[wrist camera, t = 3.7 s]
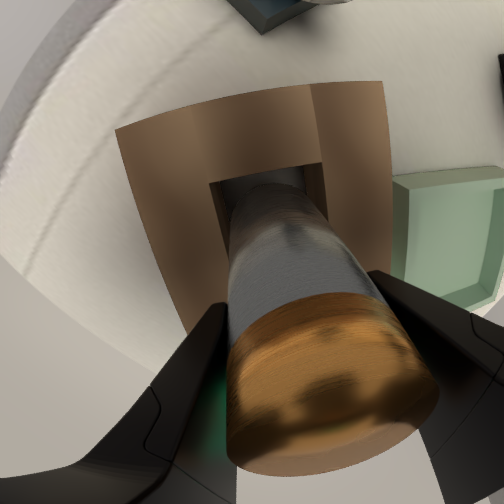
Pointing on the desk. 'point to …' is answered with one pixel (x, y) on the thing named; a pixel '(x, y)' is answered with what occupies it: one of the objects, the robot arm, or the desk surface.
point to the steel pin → (311, 346)
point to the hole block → (255, 161)
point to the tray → (450, 233)
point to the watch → (274, 11)
